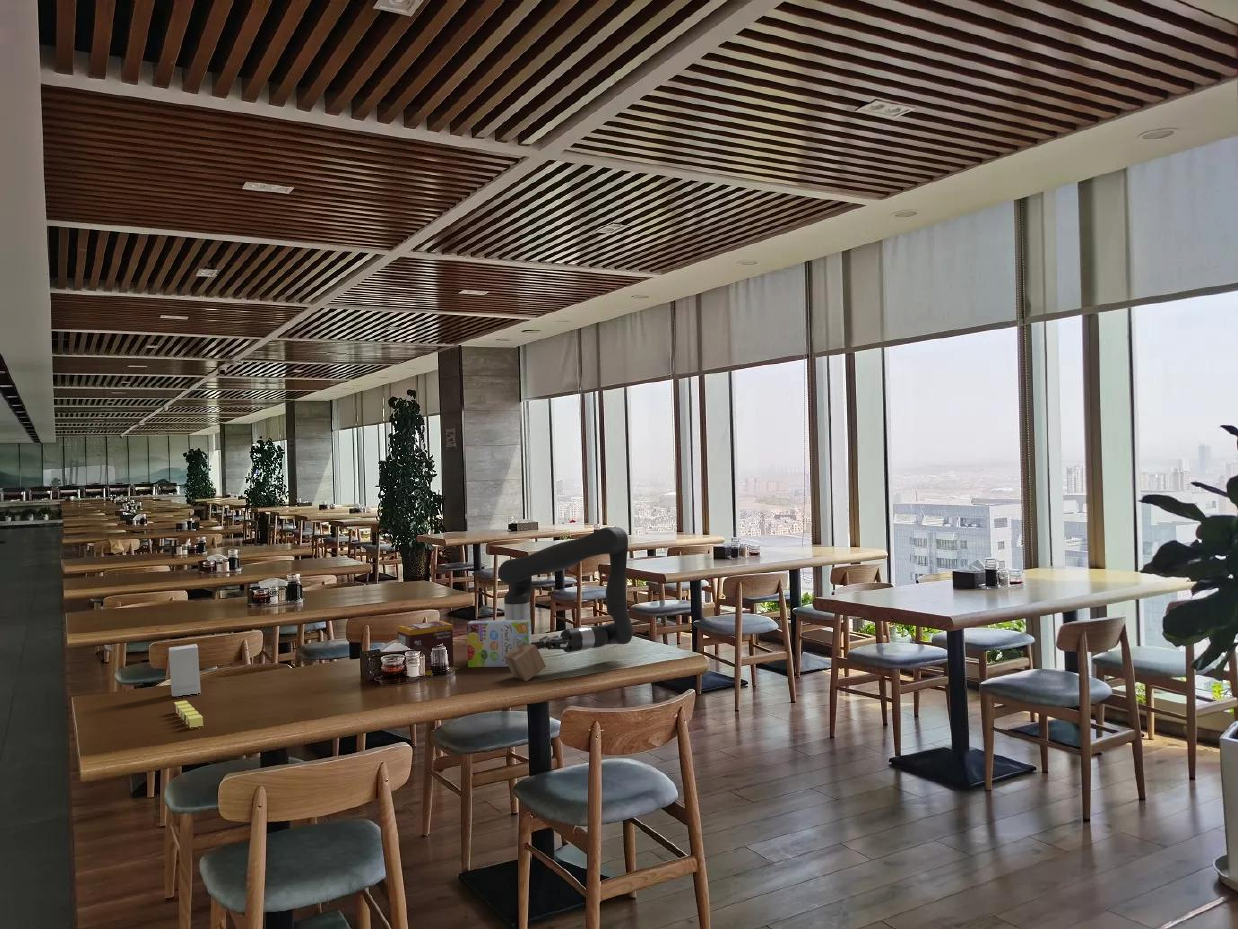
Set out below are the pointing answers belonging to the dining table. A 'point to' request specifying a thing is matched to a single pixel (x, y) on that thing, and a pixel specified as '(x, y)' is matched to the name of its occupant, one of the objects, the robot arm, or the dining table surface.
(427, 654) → the supplement box
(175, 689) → the skincare box
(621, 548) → the robot arm
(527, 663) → the walnut cube
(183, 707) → the yellow segmented bar
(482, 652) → the snack box
